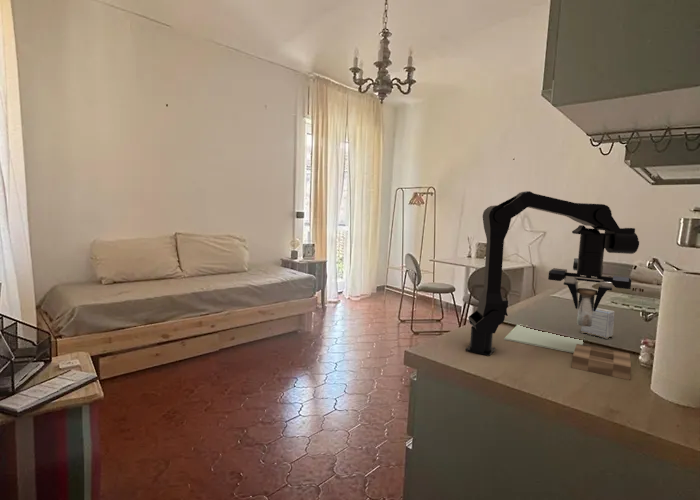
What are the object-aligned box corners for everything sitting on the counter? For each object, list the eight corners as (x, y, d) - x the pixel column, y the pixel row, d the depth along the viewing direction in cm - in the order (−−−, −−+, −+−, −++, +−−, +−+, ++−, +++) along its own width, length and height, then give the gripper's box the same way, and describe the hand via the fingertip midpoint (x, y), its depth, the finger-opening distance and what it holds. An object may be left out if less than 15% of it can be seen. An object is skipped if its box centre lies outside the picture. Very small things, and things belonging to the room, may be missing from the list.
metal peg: (594, 324, 110) (598, 289, 109) (593, 328, 106) (596, 292, 105) (575, 321, 113) (578, 287, 112) (573, 324, 109) (576, 289, 108)
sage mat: (580, 354, 112) (580, 352, 112) (504, 339, 123) (504, 338, 123) (584, 337, 129) (584, 335, 129) (517, 325, 140) (517, 324, 140)
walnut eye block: (629, 379, 95) (631, 367, 95) (571, 367, 102) (572, 356, 101) (628, 364, 105) (629, 353, 105) (575, 354, 112) (576, 343, 112)
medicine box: (612, 337, 129) (615, 311, 129) (606, 340, 127) (609, 312, 126) (586, 331, 136) (589, 305, 135) (580, 333, 133) (582, 307, 132)
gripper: (633, 253, 109) (627, 310, 111) (556, 247, 120) (551, 299, 121) (634, 256, 100) (627, 318, 101) (550, 249, 110) (545, 306, 112)
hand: (585, 309), depth 109 cm, fingers closed on metal peg, 4 cm apart
